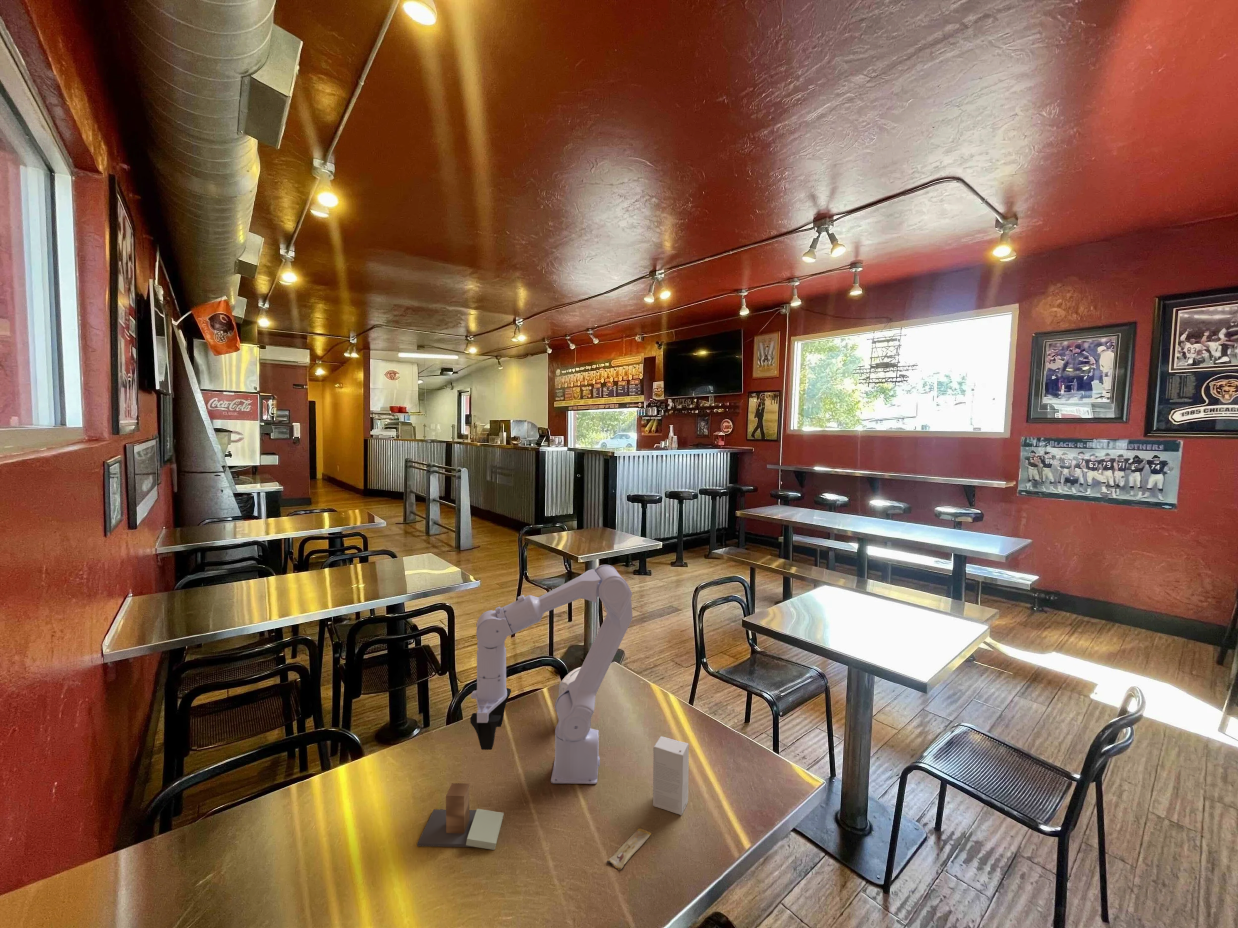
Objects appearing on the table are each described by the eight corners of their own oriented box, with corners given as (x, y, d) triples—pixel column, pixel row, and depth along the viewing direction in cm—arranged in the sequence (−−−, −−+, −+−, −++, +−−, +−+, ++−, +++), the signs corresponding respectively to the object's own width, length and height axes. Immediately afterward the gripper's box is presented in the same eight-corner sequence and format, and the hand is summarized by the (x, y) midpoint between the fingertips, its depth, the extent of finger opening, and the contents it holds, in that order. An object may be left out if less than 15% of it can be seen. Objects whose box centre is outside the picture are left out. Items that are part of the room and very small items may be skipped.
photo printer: (570, 731, 124) (570, 681, 123) (555, 725, 126) (556, 676, 125) (594, 711, 132) (594, 664, 132) (580, 706, 135) (580, 660, 134)
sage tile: (503, 812, 96) (477, 808, 95) (495, 843, 89) (467, 838, 88) (502, 819, 96) (475, 815, 96) (494, 850, 89) (465, 845, 89)
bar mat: (486, 812, 97) (486, 809, 97) (474, 846, 89) (474, 844, 89) (433, 811, 97) (433, 809, 97) (417, 845, 89) (417, 843, 89)
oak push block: (469, 819, 95) (469, 783, 94) (464, 833, 92) (464, 795, 91) (452, 819, 95) (451, 783, 94) (446, 832, 92) (445, 795, 91)
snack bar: (637, 826, 94) (650, 828, 92) (639, 835, 94) (653, 837, 92) (605, 860, 86) (618, 863, 85) (607, 869, 86) (621, 872, 84)
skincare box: (688, 801, 101) (690, 743, 100) (681, 816, 97) (683, 755, 96) (659, 792, 103) (660, 734, 103) (651, 806, 100) (652, 746, 99)
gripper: (481, 655, 111) (481, 716, 112) (460, 689, 96) (461, 759, 97) (514, 656, 111) (514, 716, 112) (498, 690, 96) (498, 759, 97)
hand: (491, 736), depth 105 cm, fingers open, 7 cm apart
